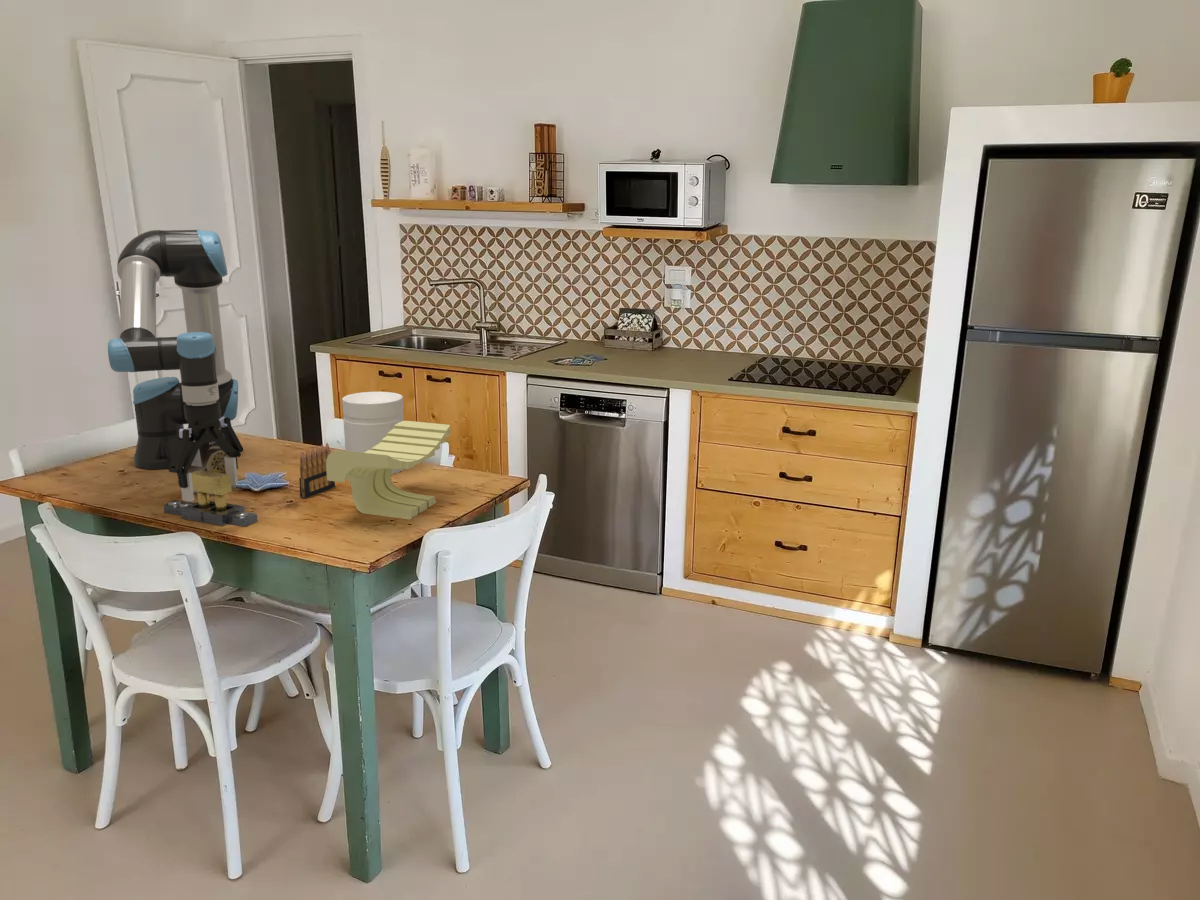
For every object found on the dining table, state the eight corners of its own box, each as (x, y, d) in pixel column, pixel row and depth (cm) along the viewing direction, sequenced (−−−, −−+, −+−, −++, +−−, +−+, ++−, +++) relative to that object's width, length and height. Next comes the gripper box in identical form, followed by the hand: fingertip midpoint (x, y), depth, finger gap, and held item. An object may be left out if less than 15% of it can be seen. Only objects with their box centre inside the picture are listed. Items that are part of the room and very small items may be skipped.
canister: (398, 477, 243) (394, 404, 237) (339, 475, 243) (334, 403, 238) (411, 460, 258) (408, 392, 253) (355, 459, 258) (351, 391, 253)
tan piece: (193, 516, 210) (188, 473, 208) (204, 512, 213) (199, 470, 210) (224, 522, 207) (219, 478, 204) (234, 517, 210) (229, 474, 207)
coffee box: (206, 496, 224) (199, 434, 220) (190, 492, 228) (183, 430, 223) (237, 487, 232) (232, 426, 228) (222, 483, 235) (215, 423, 231)
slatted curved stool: (396, 485, 235) (393, 419, 231) (452, 492, 231) (449, 424, 226) (330, 523, 208) (325, 448, 203) (391, 531, 203) (387, 455, 198)
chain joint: (159, 514, 212) (157, 504, 211) (182, 505, 218) (181, 495, 217) (240, 528, 203) (239, 518, 203) (262, 519, 210) (261, 508, 209)
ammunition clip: (329, 486, 234) (326, 441, 231) (335, 487, 234) (332, 442, 230) (300, 497, 225) (296, 451, 222) (305, 498, 224) (302, 452, 221)
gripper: (170, 415, 190) (181, 510, 196) (254, 393, 213) (261, 479, 219) (143, 411, 193) (155, 505, 199) (228, 390, 215) (237, 475, 221)
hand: (211, 492), depth 209 cm, fingers open, 13 cm apart
